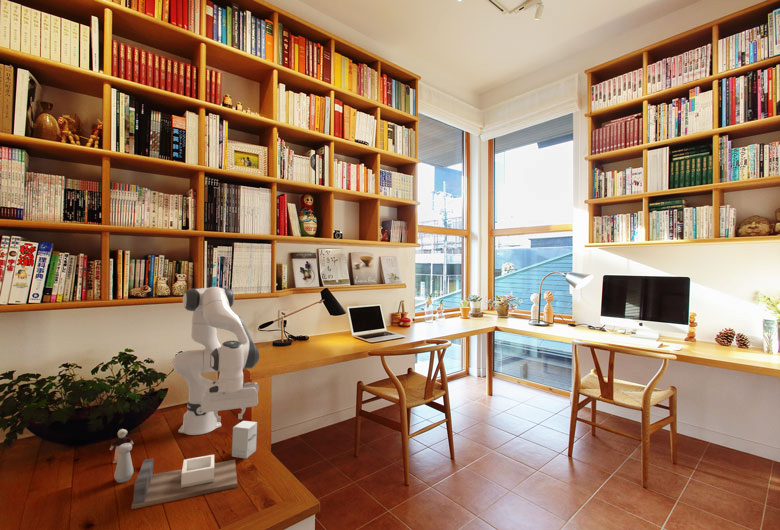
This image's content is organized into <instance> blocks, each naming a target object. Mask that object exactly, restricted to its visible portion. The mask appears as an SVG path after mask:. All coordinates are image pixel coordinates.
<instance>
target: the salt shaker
mask: <svg viewBox="0 0 780 530" xmlns="http://www.w3.org/2000/svg"><path fill="white" fill-rule="evenodd" d="M132 449H133V444H131V443H129V442H126V443H124V444H121V445H120V446H119V447H118V452H119V458H118V462H117V463H116V466H115V471H114V476H113V477H114V479H115V481H116V483H119V484H122V483H126V482H128V481H130V480H131V478H132V476H133V474H134V466H133V462H132V461H133V460H132V456H131V452H130V451H132Z"/></svg>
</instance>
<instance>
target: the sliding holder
mask: <svg viewBox="0 0 780 530" xmlns="http://www.w3.org/2000/svg"><path fill="white" fill-rule="evenodd" d="M214 463H215V454H209V455H203V456H198V457H192V458H191V457H190V458H186V459H183V463H182V477H181V488H183V487H188V486H193V485H198V484H203V483H208V482H213V481H214Z"/></svg>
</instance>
